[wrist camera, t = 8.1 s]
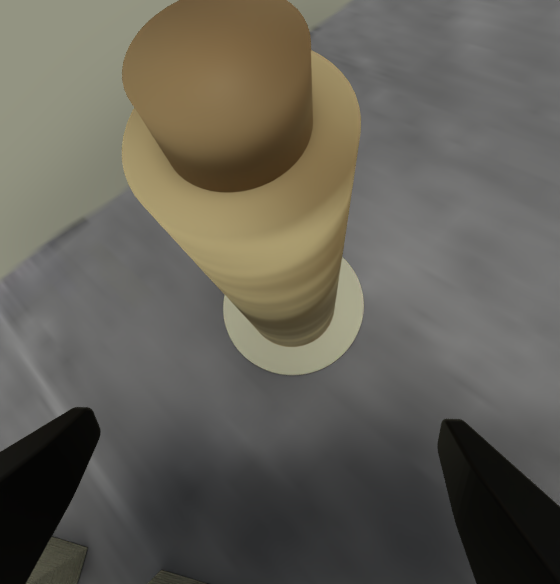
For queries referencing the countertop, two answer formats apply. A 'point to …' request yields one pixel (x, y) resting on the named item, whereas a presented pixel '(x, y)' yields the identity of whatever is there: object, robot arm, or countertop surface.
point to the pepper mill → (245, 155)
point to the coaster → (310, 354)
